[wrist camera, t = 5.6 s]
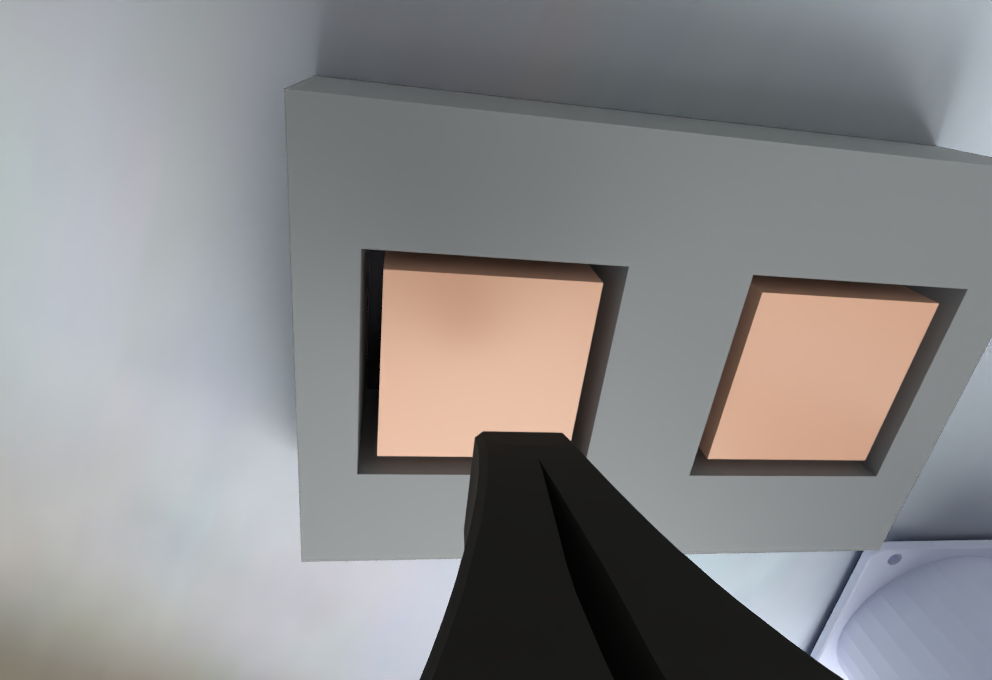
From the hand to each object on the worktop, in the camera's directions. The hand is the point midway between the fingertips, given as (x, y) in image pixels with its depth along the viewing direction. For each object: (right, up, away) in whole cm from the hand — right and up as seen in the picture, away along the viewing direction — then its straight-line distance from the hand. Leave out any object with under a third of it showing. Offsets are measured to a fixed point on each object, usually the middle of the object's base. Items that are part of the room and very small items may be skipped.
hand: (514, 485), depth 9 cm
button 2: (+7, +3, +7) cm, 10 cm away
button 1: (-1, +3, +6) cm, 7 cm away
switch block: (+3, +3, +7) cm, 8 cm away
